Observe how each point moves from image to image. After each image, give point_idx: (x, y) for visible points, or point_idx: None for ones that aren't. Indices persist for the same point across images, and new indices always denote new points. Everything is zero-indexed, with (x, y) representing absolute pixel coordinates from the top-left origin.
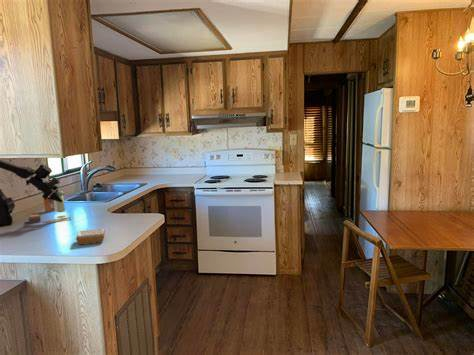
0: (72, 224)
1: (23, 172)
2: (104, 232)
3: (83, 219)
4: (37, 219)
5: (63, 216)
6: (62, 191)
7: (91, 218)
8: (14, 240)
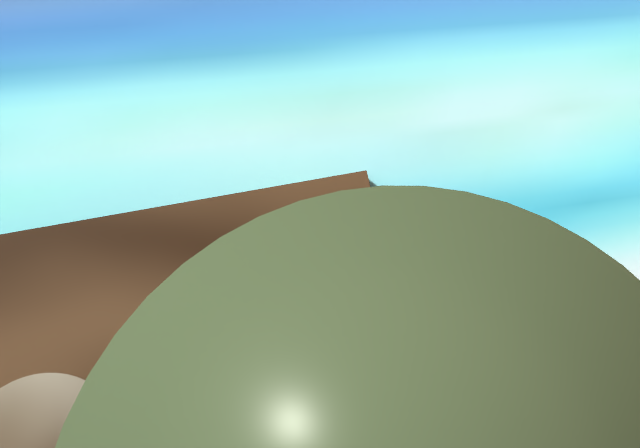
0: (595, 205)
1: None
2: None
3: (345, 97)
4: None
5: (43, 429)
6: (317, 254)
7: (329, 4)
8: None
